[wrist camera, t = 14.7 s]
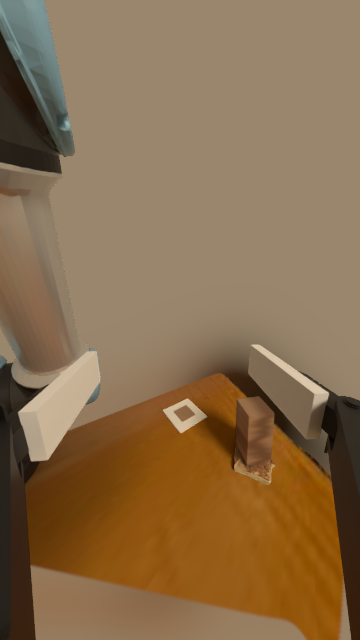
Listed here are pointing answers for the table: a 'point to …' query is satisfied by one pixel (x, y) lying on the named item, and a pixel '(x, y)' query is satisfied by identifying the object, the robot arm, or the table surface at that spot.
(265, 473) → the shard
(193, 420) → the swatch
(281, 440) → the table surface
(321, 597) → the table surface
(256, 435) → the walnut block
